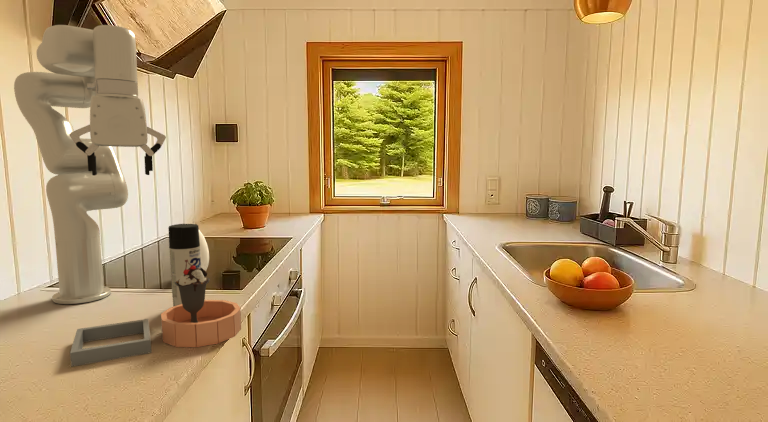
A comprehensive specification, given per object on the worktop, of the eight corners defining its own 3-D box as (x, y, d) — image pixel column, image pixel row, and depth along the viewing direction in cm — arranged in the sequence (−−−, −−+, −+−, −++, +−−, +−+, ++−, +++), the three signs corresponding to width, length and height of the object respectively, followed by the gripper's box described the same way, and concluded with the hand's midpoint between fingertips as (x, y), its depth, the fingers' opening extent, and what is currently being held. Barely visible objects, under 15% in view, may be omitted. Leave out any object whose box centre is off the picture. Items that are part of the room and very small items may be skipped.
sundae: (178, 337, 92) (174, 262, 90) (175, 326, 98) (172, 255, 96) (213, 331, 95) (210, 259, 93) (209, 321, 101) (206, 252, 99)
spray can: (192, 313, 109) (188, 228, 106) (166, 311, 110) (161, 226, 108) (208, 304, 115) (205, 223, 113) (183, 302, 117) (179, 222, 114)
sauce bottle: (184, 274, 143) (181, 216, 140) (211, 273, 144) (209, 215, 142) (179, 281, 135) (176, 219, 133) (208, 280, 137) (205, 219, 135)
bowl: (160, 326, 101) (159, 306, 100) (232, 315, 108) (232, 296, 107) (165, 352, 88) (163, 329, 87) (246, 338, 95) (246, 316, 94)
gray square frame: (78, 341, 93) (77, 329, 92) (148, 330, 99) (148, 318, 98) (71, 366, 82) (70, 352, 81) (151, 352, 88) (150, 339, 87)
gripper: (64, 85, 88) (70, 176, 91) (165, 92, 97) (168, 175, 99) (68, 89, 95) (73, 173, 97) (162, 95, 103) (165, 173, 106)
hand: (121, 174), depth 98 cm, fingers open, 9 cm apart
